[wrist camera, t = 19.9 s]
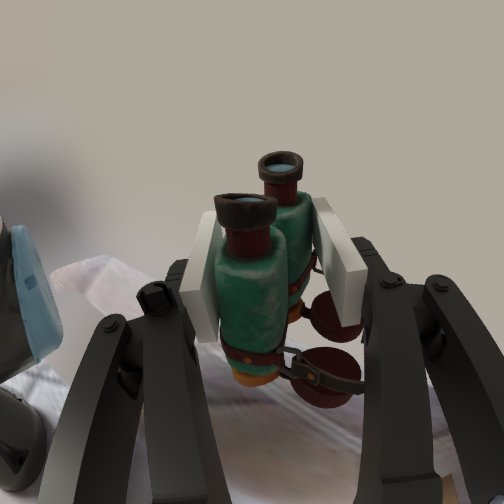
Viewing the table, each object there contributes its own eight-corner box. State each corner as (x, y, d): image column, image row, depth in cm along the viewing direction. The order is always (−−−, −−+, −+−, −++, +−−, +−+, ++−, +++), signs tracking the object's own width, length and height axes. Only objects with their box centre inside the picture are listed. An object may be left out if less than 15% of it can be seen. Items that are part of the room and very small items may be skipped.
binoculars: (492, 265, 5) (146, 211, 8) (381, 430, 11) (202, 387, 14) (430, 165, 12) (249, 143, 15) (390, 312, 18) (257, 287, 21)
